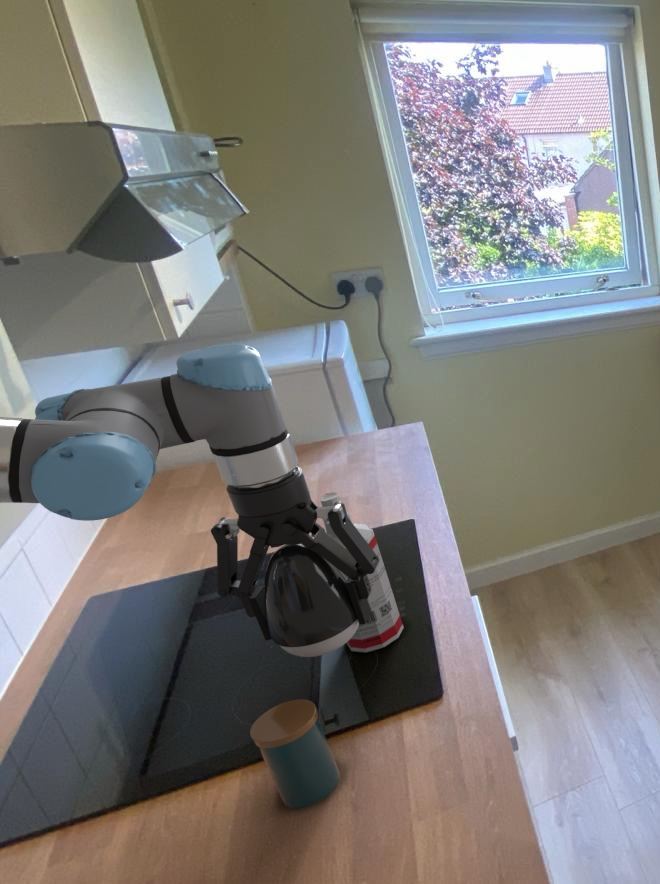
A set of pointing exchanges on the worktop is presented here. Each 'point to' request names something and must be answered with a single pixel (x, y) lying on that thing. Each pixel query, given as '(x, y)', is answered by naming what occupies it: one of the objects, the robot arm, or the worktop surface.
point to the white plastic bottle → (372, 595)
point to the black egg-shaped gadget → (307, 602)
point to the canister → (296, 752)
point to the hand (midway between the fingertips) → (319, 625)
